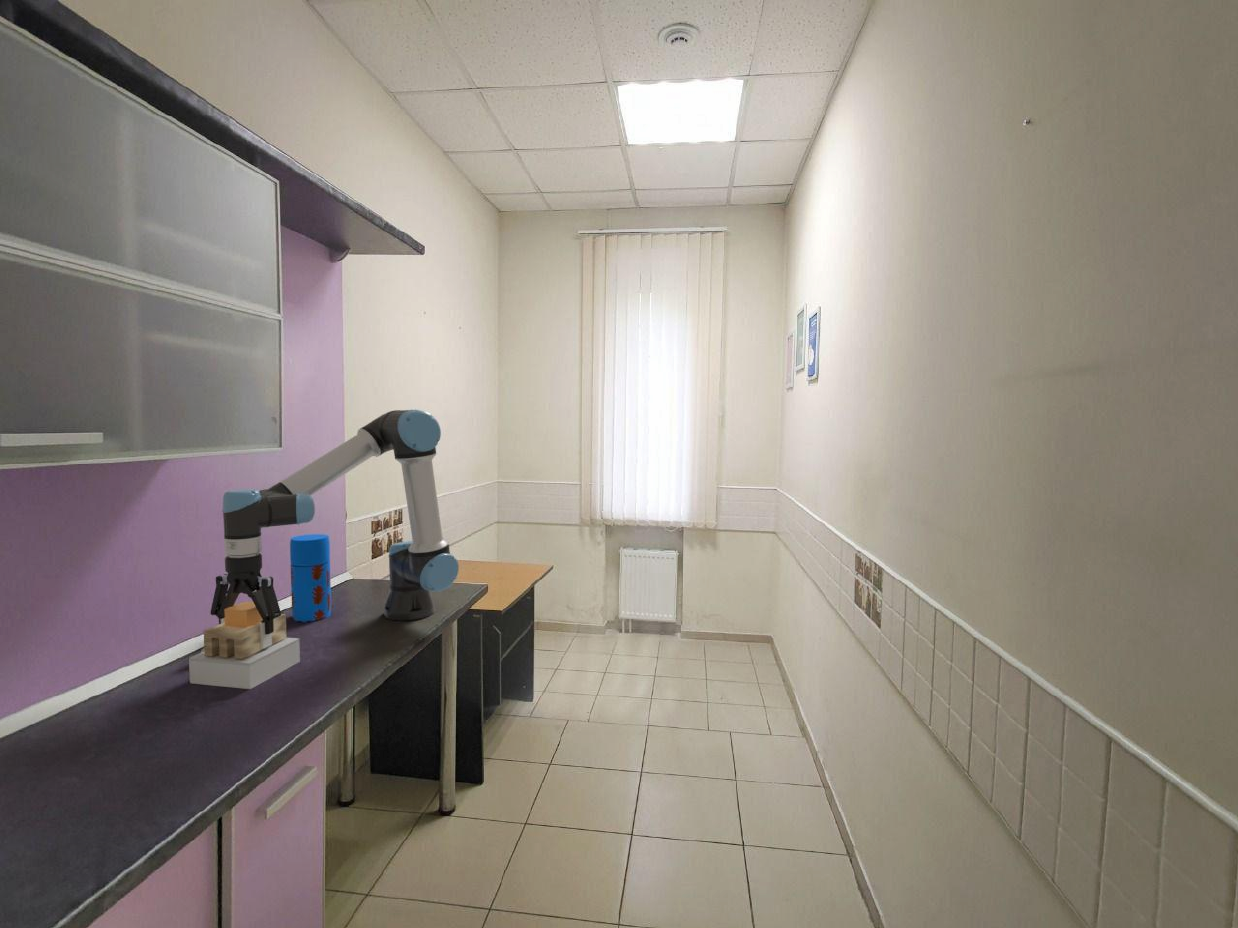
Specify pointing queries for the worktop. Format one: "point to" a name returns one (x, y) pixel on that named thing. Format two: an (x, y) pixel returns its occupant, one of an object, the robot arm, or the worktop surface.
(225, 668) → the dock
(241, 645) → the pallet
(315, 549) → the thermos
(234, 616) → the orange square block
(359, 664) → the worktop surface
